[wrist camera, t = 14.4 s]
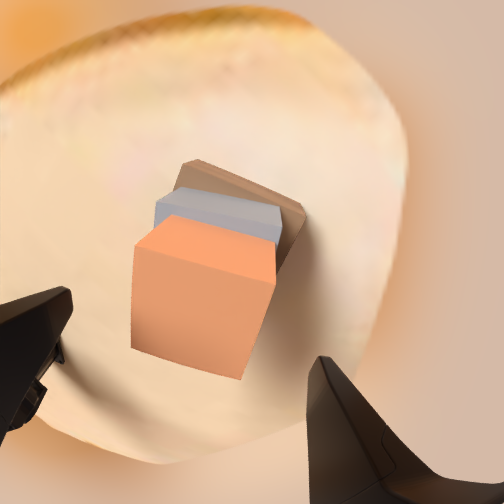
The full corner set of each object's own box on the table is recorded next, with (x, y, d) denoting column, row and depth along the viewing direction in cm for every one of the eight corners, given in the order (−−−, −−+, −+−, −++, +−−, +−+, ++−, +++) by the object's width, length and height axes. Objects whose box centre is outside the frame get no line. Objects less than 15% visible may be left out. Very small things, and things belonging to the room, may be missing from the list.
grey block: (258, 293, 19) (255, 330, 15) (171, 273, 19) (150, 306, 15) (279, 206, 16) (282, 226, 13) (180, 186, 16) (156, 201, 13)
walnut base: (255, 289, 23) (252, 317, 20) (166, 251, 22) (147, 273, 19) (300, 202, 20) (306, 217, 17) (198, 158, 19) (182, 163, 16)
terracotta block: (247, 325, 15) (240, 380, 11) (159, 300, 15) (131, 347, 11) (275, 242, 13) (276, 284, 9) (171, 214, 13) (134, 245, 9)
